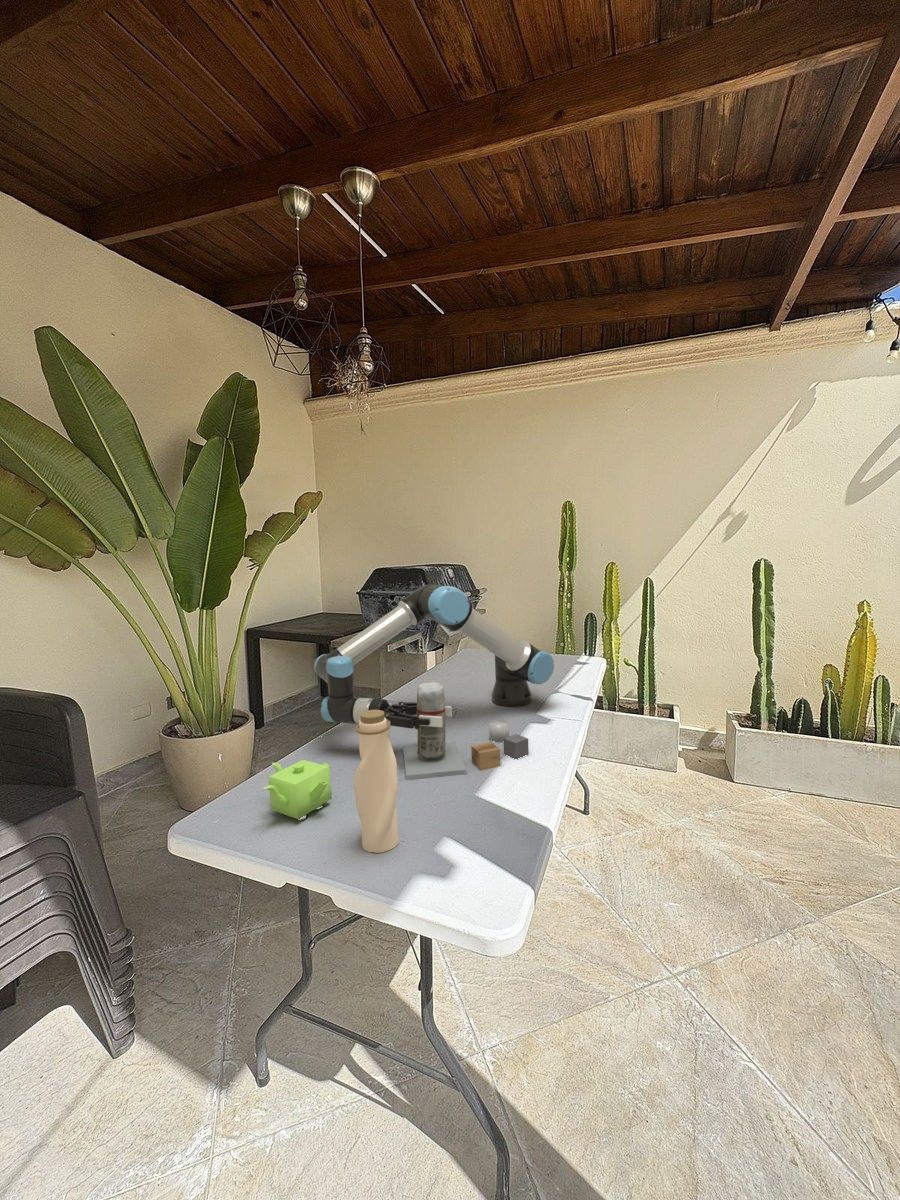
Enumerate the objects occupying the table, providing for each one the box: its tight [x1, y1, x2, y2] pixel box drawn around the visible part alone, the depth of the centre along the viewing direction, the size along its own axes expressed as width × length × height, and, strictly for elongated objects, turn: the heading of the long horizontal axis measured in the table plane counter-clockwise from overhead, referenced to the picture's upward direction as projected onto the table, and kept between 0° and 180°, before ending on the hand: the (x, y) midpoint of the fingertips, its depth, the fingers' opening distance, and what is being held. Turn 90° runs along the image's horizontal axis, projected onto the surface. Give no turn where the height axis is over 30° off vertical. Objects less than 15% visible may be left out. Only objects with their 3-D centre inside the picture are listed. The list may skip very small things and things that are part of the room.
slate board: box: [402, 741, 467, 781], centre depth 151 cm, size 20×16×1 cm
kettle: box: [262, 759, 333, 820], centre depth 126 cm, size 15×14×11 cm
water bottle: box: [353, 710, 400, 854], centre depth 111 cm, size 10×9×28 cm
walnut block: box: [470, 741, 501, 772], centre depth 147 cm, size 6×6×5 cm
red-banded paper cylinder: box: [416, 680, 446, 758], centre depth 150 cm, size 8×8×20 cm
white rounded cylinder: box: [488, 719, 510, 743], centre depth 165 cm, size 6×6×5 cm
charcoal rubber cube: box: [503, 733, 530, 760], centre depth 153 cm, size 5×5×5 cm
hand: (446, 716), depth 148 cm, fingers closed on red-banded paper cylinder, 8 cm apart
